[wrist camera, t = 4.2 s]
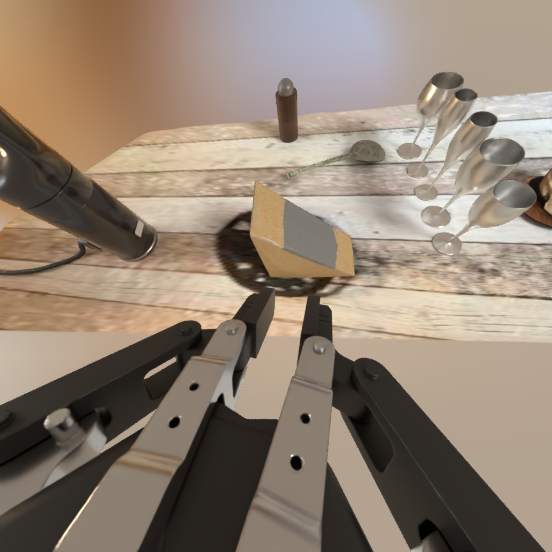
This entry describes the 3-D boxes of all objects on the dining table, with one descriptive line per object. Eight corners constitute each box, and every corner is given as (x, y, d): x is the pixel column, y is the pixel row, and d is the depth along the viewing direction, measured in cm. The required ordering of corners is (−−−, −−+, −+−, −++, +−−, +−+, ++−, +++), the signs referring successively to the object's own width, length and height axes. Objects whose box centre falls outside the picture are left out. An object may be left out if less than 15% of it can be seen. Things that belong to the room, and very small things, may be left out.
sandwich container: (355, 277, 34) (390, 229, 21) (269, 278, 37) (248, 235, 23) (350, 234, 37) (378, 167, 23) (271, 238, 40) (253, 178, 26)
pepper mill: (278, 142, 49) (271, 86, 38) (282, 130, 50) (276, 73, 40) (296, 142, 48) (294, 85, 37) (299, 130, 49) (298, 71, 39)
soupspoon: (388, 165, 43) (376, 146, 45) (395, 150, 40) (381, 130, 42) (290, 188, 43) (283, 168, 46) (289, 175, 40) (282, 155, 43)
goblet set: (469, 253, 33) (567, 198, 21) (433, 257, 34) (507, 205, 22) (419, 139, 43) (465, 56, 31) (391, 144, 44) (426, 63, 31)
